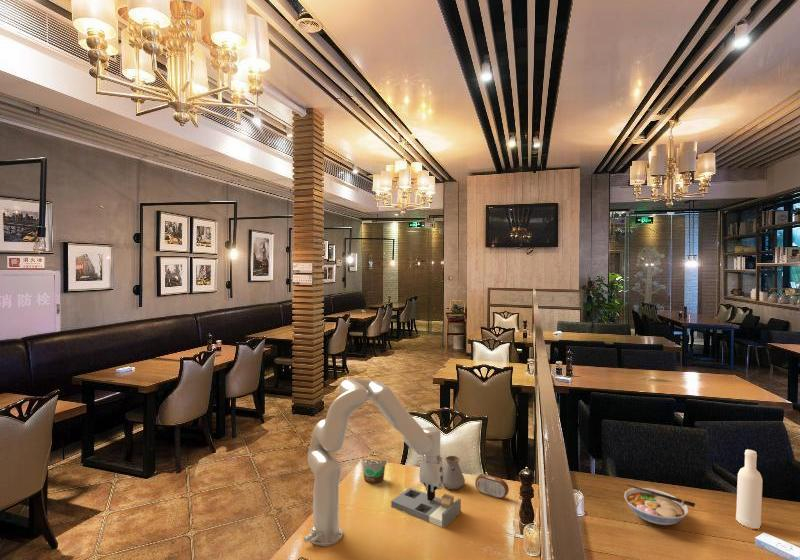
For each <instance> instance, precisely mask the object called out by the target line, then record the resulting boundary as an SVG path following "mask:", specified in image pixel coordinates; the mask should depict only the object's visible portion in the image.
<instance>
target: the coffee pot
mask: <svg viewBox="0 0 800 560" xmlns="http://www.w3.org/2000/svg"><path fill="white" fill-rule="evenodd" d="M444 460H446V465H445V467H444V468H443V470H444V483H442V486H444V487H445V488H446V487H447V488H446V489H448V490H452V489H455V490H459V489H461V487H463V486H464V484H465V483H466V482H465V480H466V479H465V477H464V474H463V472H462V469H461V467H460V465H459V461H460V460H461V459H460V457H458V456H455V455H449V456H446V457H445V458H444Z"/></svg>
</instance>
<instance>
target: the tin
mask: <svg viewBox="0 0 800 560" xmlns="http://www.w3.org/2000/svg"><path fill="white" fill-rule="evenodd" d="M475 487H476V489H477V490H478V491H479V492H480V493H481V494H483V495H487V496H490V497H493V498H496V499H500V500H501V499H504V498H505V497H506V496H507V495H508V494H509V489H510V488H509V486H508V484H507V482H506V481H505V480H504V479H502V478H500V477H496V476H493V475H489V474H485V473H480V474H479V475H478V476H477V477H476V478H475Z"/></svg>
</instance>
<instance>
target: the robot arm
mask: <svg viewBox="0 0 800 560" xmlns="http://www.w3.org/2000/svg"><path fill="white" fill-rule="evenodd" d="M338 393H339V396H337V397H336V398H335V399H334V400H332V401H333V402H331V404H330V406H329V408H328V410H327V414H326V417H325V418H323V419H321V420H320V421H317V423H316V425H315V426H314V428H313V431H312V434H311V439H310V444H309V448H308V452H307V458H306V459H307V464H308V466H309V468H310V470H311V471H312V473H313V476H314V481H313V489H312V496H313V497H312V498H313V499H312V504H313V506H312V507H313V509H312V510H313V511H312V512H313V513H312V514H313V515H312V516H313V517H312V518H313V520H312V521H313V526H312V527H311V528H310V529H311V530H310V532H309V534H308V535H305V537H303V541H304V543H306V544H307V543H308V542H311V543H312V544H313V545H315V546H318V547H319V546H320V547H329V546H332V545H335V544H337V543H339V542H340V541H341V540H342V538H343V536H344V533H343V532H344V531H343V528H342V527H341V526H339V525H340V524H339V521H340V520H339V519H340V518H339V510H340V509H339V508H340V507H339V503H340V502H339V495H340V494H339V484H340V476H341V466H340V463H339V461H338V459H337V458H336V456H335V455H334V453H336V452H339V450H341V448H342V447H343V444H344V440H345V436H346V432H347V427H348V423H349V419H350V417H351V415H352V413H354V411H356V410H357V409H358V408H361V407H362V406H363V405H365V404H366V402H368V401H371V402H372V403H373V404H374V405H375V406H376V408H377V409H378V410H379V412H380V413H382V415H383V416H384V417H385V419H386V420H387V422H388V423H389V424H390V425H391V426H392V427H393V429H395V430H396V431H397V432H399V433H400V434H401V435H402V436H403V442H404V443H405V444H406V446H408V447H409V448H410V449H412V451H414V452H416V453H417V454H418V455H420V456H421V455H422V458H421V460H420V466H419V483H421V484H423V486H424V487H425V490H426V494H427V497H428V500H430V501H432V500H433V499H434V498H435V497H436V490H442V489H443V484H442V483H444V465H443V460H444V459H443V457H441V456H442V455H441V430H440V428H438V427H436V426H427V427H425V428H424V427H423V428H422V426H421V425H420V424H419V423H418V422H417V421H416V419H415V418H414V417H413V416H412V415H411V413H409V411H408V410H407V409H406V408H405V406H404V405H403V404H402V402H401V401H400V400H399V398H398V397H397V396H396V394H395V393H394V391H393V390H392V389H391V388H390V387H389V386H387V385H386V384H384V383H382V382H381V381H379V380H375V379H374V380H373V379H361V378H347V379H344V380H343V381H342V382H341V383H340V384H339V387H338Z"/></svg>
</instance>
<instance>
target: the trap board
mask: <svg viewBox="0 0 800 560" xmlns="http://www.w3.org/2000/svg"><path fill="white" fill-rule="evenodd" d="M390 501H391V502H390V504H391V506H390V507H391V508H393V509H396V510H398V509H399V511H401V512H403V511H404V513H407V514H408V515H411V516H413V517H416V518H417V519H421V520H423V521H425V520H426V522H427V523H428V522H429V523H430V522H431V524H434V525H435V524H436V526H439V527H440V528H443V529H444V528H446V527H447V526H448V525H449V524H450V523H451V522H452V521H453V520H454V519H455V518H456V517H457V516H459V514H460V513H461V511H462V499H461V498H459V497H458V498H457V499H456V500H454V503H453V504H452V505H451V506H450V507H449V508H448V509H446V508H443V507H441V497H438V496H435V498H434V499H433V500H432V501H430V500H428V497H427V492H423V491H420V490H417V489H415V488H413V487H408V488H406V490H404V491H402V492H401V493H400V494H398V495H397V496H396V497H395V498H393V499H392V500H390Z"/></svg>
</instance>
